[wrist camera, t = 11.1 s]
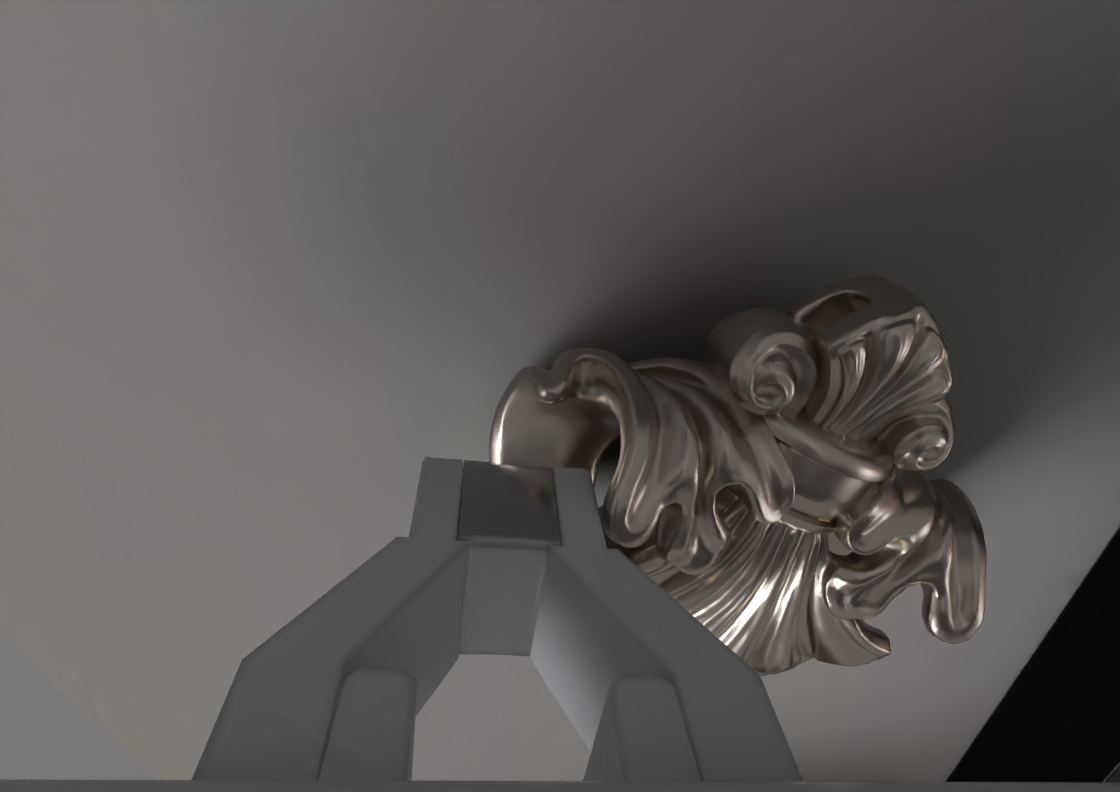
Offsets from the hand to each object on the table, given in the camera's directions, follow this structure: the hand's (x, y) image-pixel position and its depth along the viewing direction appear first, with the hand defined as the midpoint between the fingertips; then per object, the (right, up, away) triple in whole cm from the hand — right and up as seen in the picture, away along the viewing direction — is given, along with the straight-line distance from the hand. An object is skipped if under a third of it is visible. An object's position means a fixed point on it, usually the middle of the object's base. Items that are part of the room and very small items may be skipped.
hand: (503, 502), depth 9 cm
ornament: (+4, +1, +3) cm, 5 cm away
